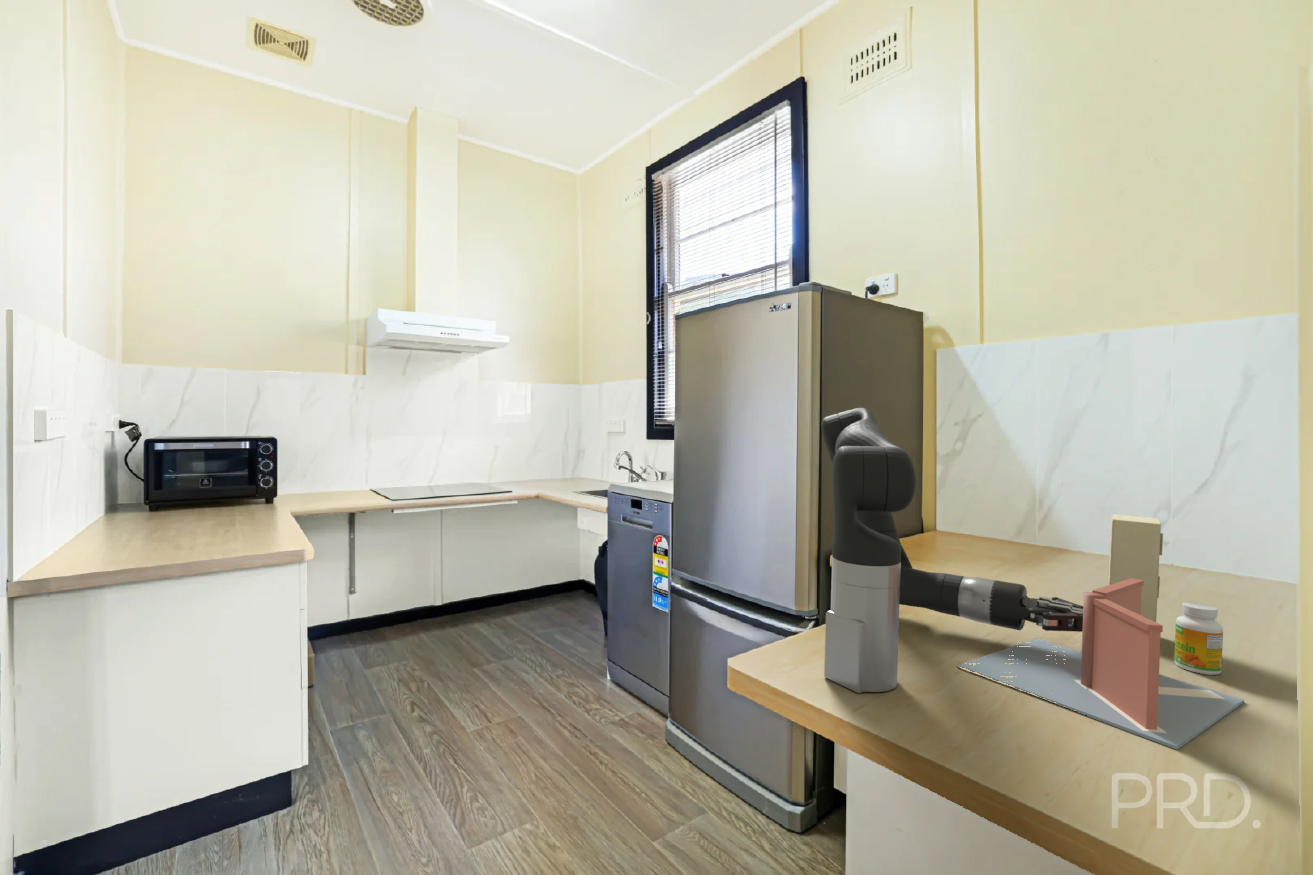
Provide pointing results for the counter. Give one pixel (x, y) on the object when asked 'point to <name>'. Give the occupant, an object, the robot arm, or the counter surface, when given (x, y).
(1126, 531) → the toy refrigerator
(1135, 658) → the bar
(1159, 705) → the card
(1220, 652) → the supplement bottle
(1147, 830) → the counter surface
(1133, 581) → the panel
